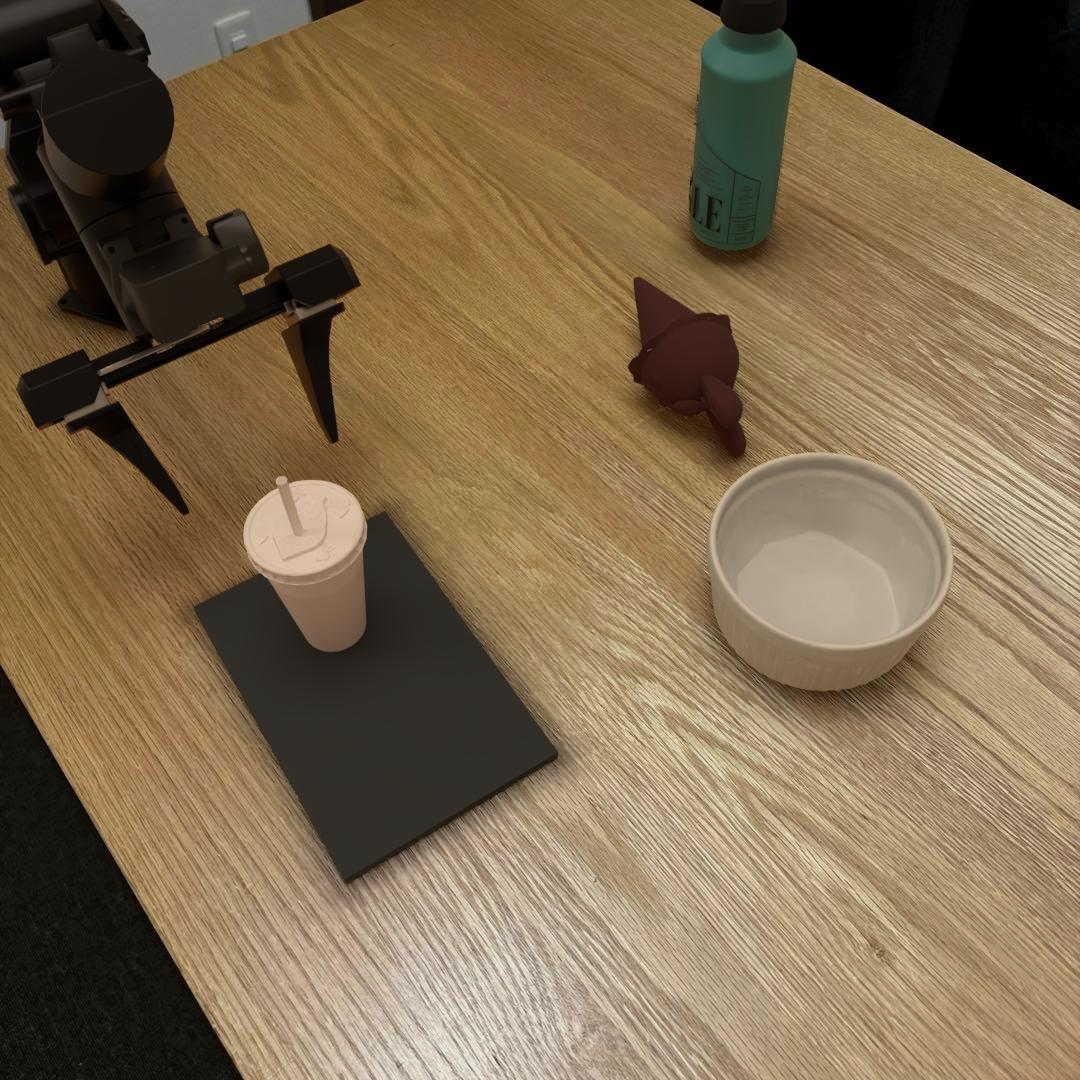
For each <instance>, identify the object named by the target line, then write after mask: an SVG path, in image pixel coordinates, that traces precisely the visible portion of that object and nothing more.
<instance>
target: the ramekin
mask: <svg viewBox="0 0 1080 1080" xmlns="http://www.w3.org/2000/svg"><path fill="white" fill-rule="evenodd" d="M707 529H708V530H707V535H706V541H705V558H706V565H707V569H708V574H709V577H710V588H711V599H712V606H713V613H714V615H715V618H716V621H717V625H718V627H719V629H720V630H721V634H722V636H723V637H724V638H725V640H726V642H727V643H728V645H729V646H730V647H731V648H732V649H733V650H734V652H735V653H736V655H737V656H739V657H740V658H741V659H743V661H744V662H745V663H746V664H747V665H748V666H750V667H752V668H754V669H755V670H756V671H757V672H758V673H760V674H762V675H764V676H765V677H767V678H768V679H770V680H772V681H776V682H778V683H779V684H782V685H785V686H790V687H792V688H794V689H801V690H804V691H805V690H806V691H810V692H811V691H812V692H813V691H817V692H818V691H819V692H828V691H836V692H841V691H842V690H852V689H854V688H856V687H858V686H859V687H860V686H865V685H867V684H868V683H870V682H871V681H875V680H877V679H879V678H880V677H881V676H882V675H884V674H886V673H888V672H890V671H891V670H892V669H893V667H894V666H896V665H897V664H898V663H900V661H902V659H904V657H905V656H906V654H907V653H908V652H909V651H910V650H911V649H912V647H913V646H914V644H915V643H916V641H917V640H918V639H919V637H920V636H922V635H923V634H924V633H925V632H926V631H927V630H928V629H929V627H931V625H932V624H933V623H934V621H936V619H937V617H938V616H939V614H940V612H941V611H942V609H943V607H944V605H945V603H946V601H947V598H948V594H949V593H950V588H951V585H952V582H953V577H954V570H955V554H954V548H953V544H952V540H951V536H950V533H949V531H948V529H947V526H946V524H945V522H944V519H943V518H942V516H941V515H940V512H938V510H937V509H936V507H935V506H934V505H933V504H932V502H931V501H930V499H929V498H928V497H927V496H926V495H925V494H924V493H923V492H922V491H921V490H919V489H918V488H917V486H915V485H914V484H913V483H912V482H910V481H909V480H907V479H906V478H905V477H903V476H901V475H900V474H899V473H897V472H895V471H893V470H891V469H890V468H888V467H885V466H884V465H881V464H879V463H876V462H874V461H871V460H868V459H865V458H862V457H858V456H854V455H850V454H844V453H837V452H825V451H813V452H812V451H810V452H799V453H792V454H789V455H788V454H787V455H784V456H780V457H776V458H772V459H771V460H768V461H765V462H763V463H760V464H759V465H757V466H755V467H753V468H751V469H749V470H748V471H746V472H745V473H743V474H742V475H741V476H740V477H738V478H737V479H736V480H735V481H734V482H733V483H732V484H730V486H729V487H728V488H727V489H726V491H725V492H724V493H723V494H722V495H721V497H720V499H719V500H718V502H717V503H716V505H715V507H714V510H713V512H712V515H711V518H710V521H709V525H708V528H707Z"/></svg>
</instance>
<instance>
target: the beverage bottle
mask: <svg viewBox="0 0 1080 1080" xmlns="http://www.w3.org/2000/svg"><path fill="white" fill-rule="evenodd" d="M719 11H720V12H719V18H720V21H721V23H722V24H723V26H721V27H720V28H718V29H716V30H715V31H714V32H713V33H711V34H710V35H709V36H708V37H707V38H706V39H705V41H704V42H703V44H702V46H701V49H700V61H701V62H700V74H699V75H700V76H699V85H697V86H698V93H696V94H695V96H696V98H697V99H696V102H695V105H696V106H697V107H695V108H694V109H695V113H696V114H695V116H694V119H696V122H694V123H693V125H694V126H695V136H694V146H693V153H692V155H693V162H692V164H691V166H690V171H691V172H690V178H689V187H688V188H689V190H688V203H687V204H688V205H687V206H688V213H689V214H687V217H686V218H688V220H687V221H688V224H689V226H690V228H691V231H692V233H693V234H694V236H695V237H696V239H698V240H699V241H700V242H702V243H703V244H706V245H707V246H709V247H711V248H714V249H717V250H724V251H741V250H747V249H750V248H752V247H755V246H757V245H759V244H760V243H762V242H763V241H764V240H765V239H766V238H767V237H768V235H769V233H770V231H771V229H773V228H774V226H775V224H776V222H774V221H776V217H777V216H776V215H777V210H778V203H779V197H780V196H779V195H780V186H779V183H781V180H782V179H780V178H782V176H783V174H782V172H781V169H783V168H784V167H783V166H784V165H783V164H784V163H783V162H784V158H783V155H784V152H785V151H784V148H786V143H787V142H786V137H785V136H786V128H787V120H788V115H789V109H790V107H789V106H790V99H791V93H792V88H793V87H792V86H793V79H794V73H795V68H796V67H795V66H796V64H797V60H798V50H797V47H796V44H795V43H794V42H793V40H792V39H791V37H789V35H788V34H786V32H784V31H783V30H782V29H781V27H783V25H784V24H785V22H786V20H787V11H788V9H787V0H722V2H721V5H720V10H719Z"/></svg>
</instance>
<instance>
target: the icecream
mask: <svg viewBox="0 0 1080 1080" xmlns="http://www.w3.org/2000/svg"><path fill="white" fill-rule="evenodd" d="M632 282H633V283H632V284H633V292H634V293H633V294H634V300H635V306H636V315H637V322H638V330H639V336H640V344H641V345H640V346H641V349H640V351H639V352H638V354H637V355H636V356H634V357H633V358H631V359H630V361H629V363H628V365H627V370H628V371H629V373H630V374H631V376H632V381H633V383H636V384H639V385H641V386H643V387H644V389H645V390H646V392H648V393H649V394H650V395H651V396H652V397H653V398H655V399H656V400H657V402H658V405H659V407H661V408H664V409H669V410H671V411H673V412H674V413H675V414H676V415H678V416H681V417H685V418H693V417H696V416H699V415H701V414H703V413H705V414H706V416H707V419H708V423H709V424H710V426H711V428H712V430H713V432H714V434H715V436H716V438H717V440H718V442H719V444H721V446H722V447H723V448H724V451H726V452H727V454H728V455H730V456H731V457H732V458H733V459H734V458H740V457H741V456H742V455H743V454H744V453H745V452H746V450H747V443H748V441H747V438H746V435H745V431H744V428H743V425H742V424H741V423H740V421H741V419H742V416H743V411H744V404H743V402H742V400H741V398H740V397H739V395H738V393H737V392H736V391H735V390H734V387H735V383H736V379H737V376H738V373H739V369H740V351H739V349H738V345H737V343H736V340H735V339H734V336H733V329H732V326H731V318H730V316H729V315H728V314H724V313H721V314H717V313H714V312H710V311H709V312H699V313H696V312H695V311H694V310H692V309H690V308H689V307H687V306H686V305H684V304H683V303H681V302H680V301H678V300H677V299H675V298H673V297H672V296H670V295H669V294H667V293H666V292H664V291H662V290H661V289H660V288H658V287H656V285H654V284H652V283H650V282H649V281H648V280H646V279H645V278H643V277H641V276H636V277H634V278H633V281H632Z"/></svg>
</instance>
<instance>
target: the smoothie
mask: <svg viewBox="0 0 1080 1080" xmlns="http://www.w3.org/2000/svg"><path fill="white" fill-rule="evenodd" d="M275 484H276V488H275V489H273V490H271V491H269V492H268V493H266V494H265V495H264V496H263V497H262V498H260V499H259V500H258V501H257V503H256V504H254V506H253V507H252V508H251V510H250V511H249V513H248V515H247V517H246V519H245V522H244V525H243V543H244V547H245V549H246V553H247V558H248V559H249V561H250V563H251V565H252V566H253V567H254V570H256V571H257V572H259V574H260V573H261V574H262V575H263V576H265V577H266V578H268V580H269V581H270V583H271V584H272V586H273V587H274V589H275V591H276V592H277V594H278V595H279V597H280V598H281V600H282V602H283V603H284V605H285V606H286V608H287V609H288V611H289V613H290V614H291V616H292V617H293V619H294V620H295V622H296V624H297V625H298V627H299V628H300V630H301V632H302V633H303V635H304V636H305V638H306V639H307V641H308V642H309V643H310V644H311V645H312V646H313V647H315V648H317V649H319V650H322V651H327V652H336V651H341V650H344V649H347V648H349V647H350V646H352V645H354V644H355V643H356V642H357V641H358V640H359V639H360V638H361V636H362V635H363V633H364V631H365V628H366V606H365V587H364V569H363V547H364V544H365V541H366V539H367V523H366V520H367V519H366V517H365V513H364V512H363V509H362V507H361V504H360V503H359V501H358V499H357V498H356V496H355V495H353V494H352V493H351V492H350V490H347V489H346V488H345V487H344V486H343V487H342V485H339V484H337V483H334V482H332V481H327V480H322V479H321V480H320V479H302V480H297V481H293V482H288V478H287V476H285V475H280V476H278V477H276V479H275Z"/></svg>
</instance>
